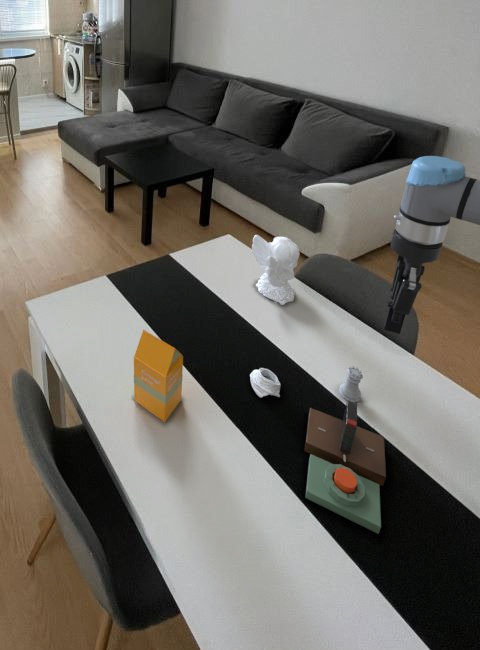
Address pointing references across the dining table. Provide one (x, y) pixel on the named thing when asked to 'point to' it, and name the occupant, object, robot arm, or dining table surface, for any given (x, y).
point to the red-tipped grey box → (348, 427)
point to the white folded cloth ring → (265, 383)
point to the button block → (344, 494)
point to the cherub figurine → (276, 267)
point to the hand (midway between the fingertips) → (391, 329)
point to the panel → (364, 451)
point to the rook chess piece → (351, 385)
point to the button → (345, 480)
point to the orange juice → (157, 376)
